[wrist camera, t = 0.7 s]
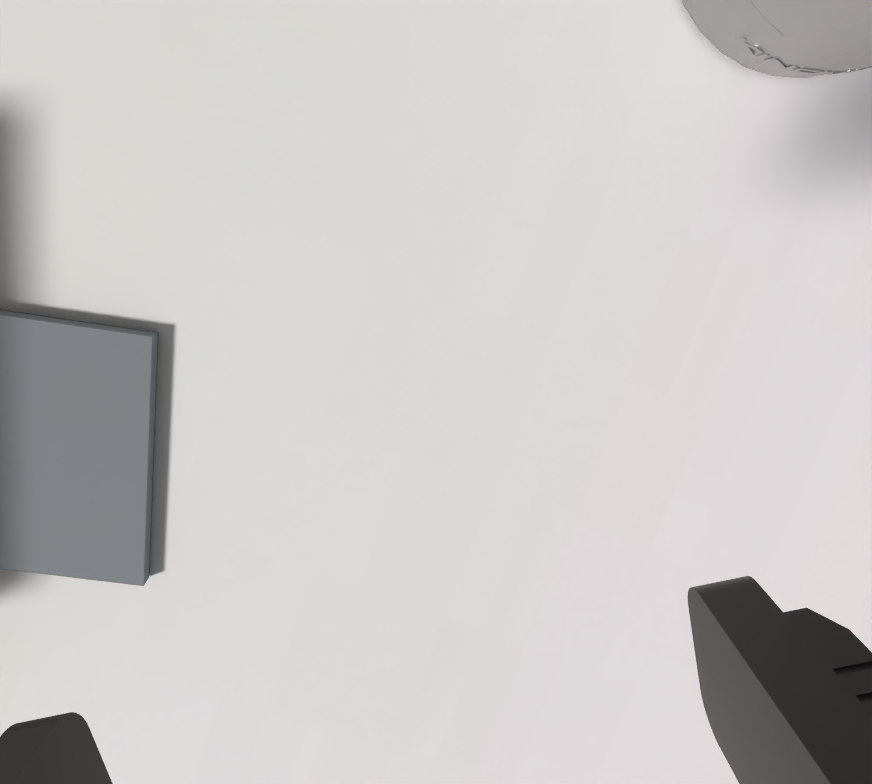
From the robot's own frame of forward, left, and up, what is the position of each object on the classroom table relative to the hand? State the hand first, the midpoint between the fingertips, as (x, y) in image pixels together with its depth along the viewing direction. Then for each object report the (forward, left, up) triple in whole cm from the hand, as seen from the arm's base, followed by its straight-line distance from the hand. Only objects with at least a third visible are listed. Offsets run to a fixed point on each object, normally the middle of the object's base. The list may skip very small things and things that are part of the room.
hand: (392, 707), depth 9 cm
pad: (+5, -14, -17) cm, 23 cm away
